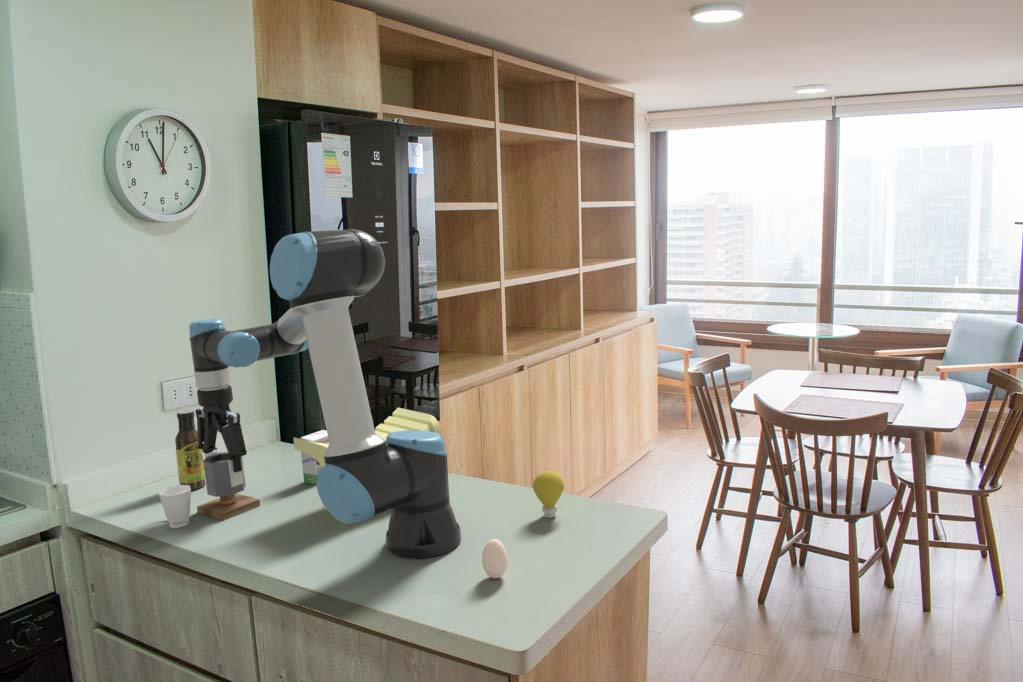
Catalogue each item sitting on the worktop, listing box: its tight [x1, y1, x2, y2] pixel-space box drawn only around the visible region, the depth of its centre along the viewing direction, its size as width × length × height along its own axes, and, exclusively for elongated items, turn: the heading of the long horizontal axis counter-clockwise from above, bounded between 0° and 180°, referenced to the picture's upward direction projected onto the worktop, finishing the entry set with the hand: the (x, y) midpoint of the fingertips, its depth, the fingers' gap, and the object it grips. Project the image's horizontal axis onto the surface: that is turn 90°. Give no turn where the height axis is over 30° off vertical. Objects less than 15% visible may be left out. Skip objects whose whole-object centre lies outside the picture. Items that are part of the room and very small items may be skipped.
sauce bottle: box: [174, 409, 206, 491], centre depth 203 cm, size 6×6×20 cm
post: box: [196, 493, 261, 521], centre depth 187 cm, size 10×10×10 cm
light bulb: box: [532, 470, 565, 519], centre depth 172 cm, size 7×7×10 cm
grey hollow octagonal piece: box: [203, 451, 247, 498], centre depth 186 cm, size 8×8×8 cm
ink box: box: [300, 429, 329, 486], centre depth 204 cm, size 8×5×12 cm, turn 147°
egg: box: [481, 538, 509, 579], centre depth 145 cm, size 5×5×7 cm
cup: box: [158, 484, 192, 529], centre depth 180 cm, size 7×10×8 cm
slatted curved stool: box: [293, 407, 442, 467], centre depth 187 cm, size 30×16×18 cm, turn 136°
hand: (225, 481), depth 186 cm, fingers closed on grey hollow octagonal piece, 8 cm apart
